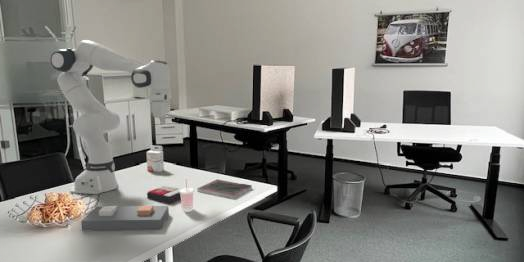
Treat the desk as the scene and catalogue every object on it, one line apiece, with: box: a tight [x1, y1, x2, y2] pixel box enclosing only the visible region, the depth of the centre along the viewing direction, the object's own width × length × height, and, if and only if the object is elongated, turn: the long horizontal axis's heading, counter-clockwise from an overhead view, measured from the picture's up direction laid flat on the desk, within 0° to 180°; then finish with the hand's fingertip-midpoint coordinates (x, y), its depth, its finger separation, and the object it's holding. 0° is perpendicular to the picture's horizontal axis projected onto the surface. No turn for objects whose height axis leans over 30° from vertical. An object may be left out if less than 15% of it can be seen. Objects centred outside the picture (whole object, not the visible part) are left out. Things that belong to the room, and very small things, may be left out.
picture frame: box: [197, 178, 253, 200], centre depth 186 cm, size 16×2×22 cm
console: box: [80, 205, 170, 232], centre depth 149 cm, size 30×14×4 cm, turn 91°
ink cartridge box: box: [146, 144, 165, 173], centre depth 219 cm, size 9×5×15 cm, turn 77°
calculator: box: [146, 185, 181, 205], centre depth 177 cm, size 11×4×15 cm
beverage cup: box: [179, 178, 195, 213], centre depth 161 cm, size 6×6×14 cm
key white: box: [99, 205, 117, 216], centre depth 149 cm, size 5×5×4 cm
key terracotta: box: [137, 205, 154, 216], centre depth 149 cm, size 5×5×4 cm
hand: (162, 124), depth 177 cm, fingers closed
